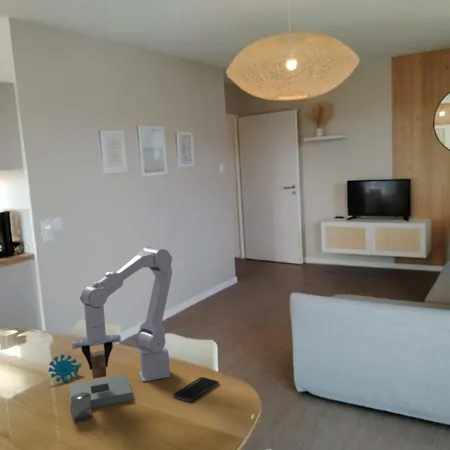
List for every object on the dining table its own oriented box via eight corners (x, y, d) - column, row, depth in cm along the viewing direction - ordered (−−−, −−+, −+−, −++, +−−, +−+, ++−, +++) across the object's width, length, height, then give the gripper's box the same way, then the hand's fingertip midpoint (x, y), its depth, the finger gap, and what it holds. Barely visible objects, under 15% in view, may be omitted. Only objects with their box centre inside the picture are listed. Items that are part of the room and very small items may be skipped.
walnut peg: (105, 371, 148) (103, 350, 147) (106, 376, 144) (104, 354, 144) (92, 373, 147) (90, 352, 146) (93, 378, 143) (91, 356, 142)
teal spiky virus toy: (50, 382, 154) (47, 354, 160) (47, 390, 158) (45, 362, 164) (84, 378, 159) (80, 351, 165) (80, 386, 163) (77, 359, 169)
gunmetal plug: (91, 410, 138) (90, 390, 137) (92, 419, 133) (91, 399, 132) (72, 414, 136) (70, 394, 135) (72, 423, 131) (70, 403, 130)
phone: (171, 395, 144) (201, 376, 156) (172, 398, 144) (201, 379, 156) (191, 401, 139) (220, 381, 151) (191, 404, 139) (220, 384, 151)
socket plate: (126, 381, 156) (125, 374, 156) (132, 400, 143) (132, 392, 143) (70, 391, 150) (69, 384, 150) (71, 412, 137) (70, 404, 137)
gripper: (71, 332, 138) (74, 376, 139) (120, 325, 143) (123, 368, 144) (70, 325, 144) (73, 367, 146) (118, 319, 149) (120, 359, 151)
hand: (98, 367), depth 145 cm, fingers closed on walnut peg, 4 cm apart
